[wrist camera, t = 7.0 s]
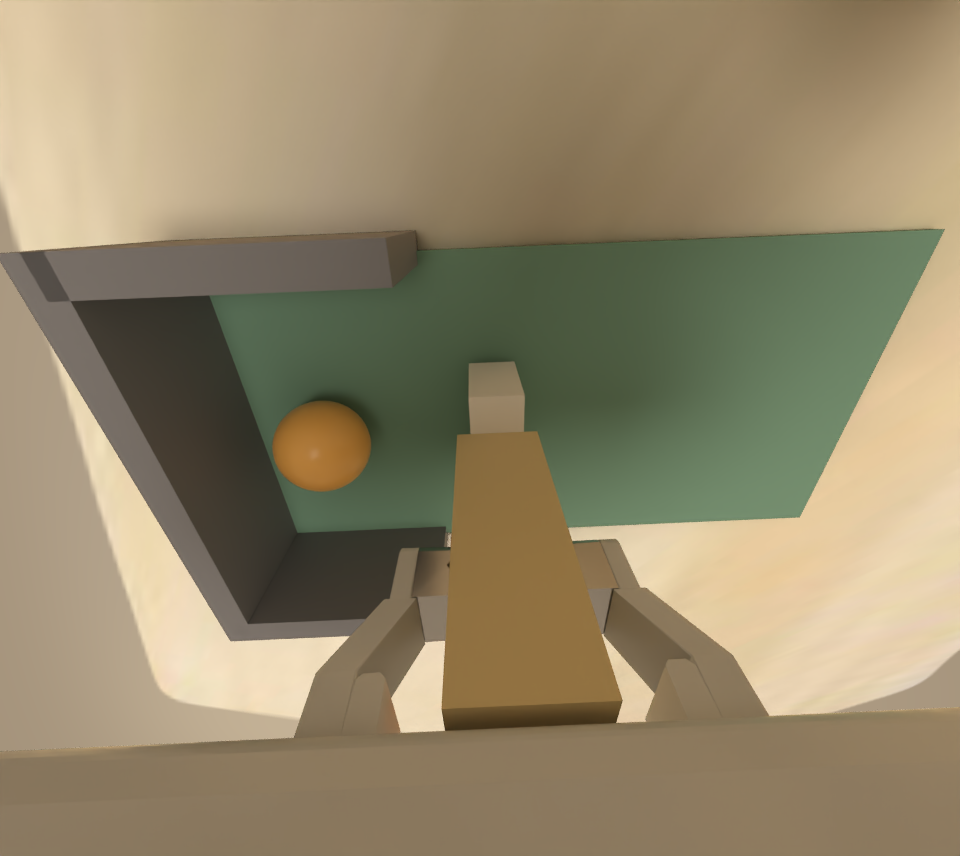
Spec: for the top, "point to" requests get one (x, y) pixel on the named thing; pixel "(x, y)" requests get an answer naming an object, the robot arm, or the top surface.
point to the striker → (516, 581)
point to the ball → (321, 446)
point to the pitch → (591, 370)
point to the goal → (215, 414)
